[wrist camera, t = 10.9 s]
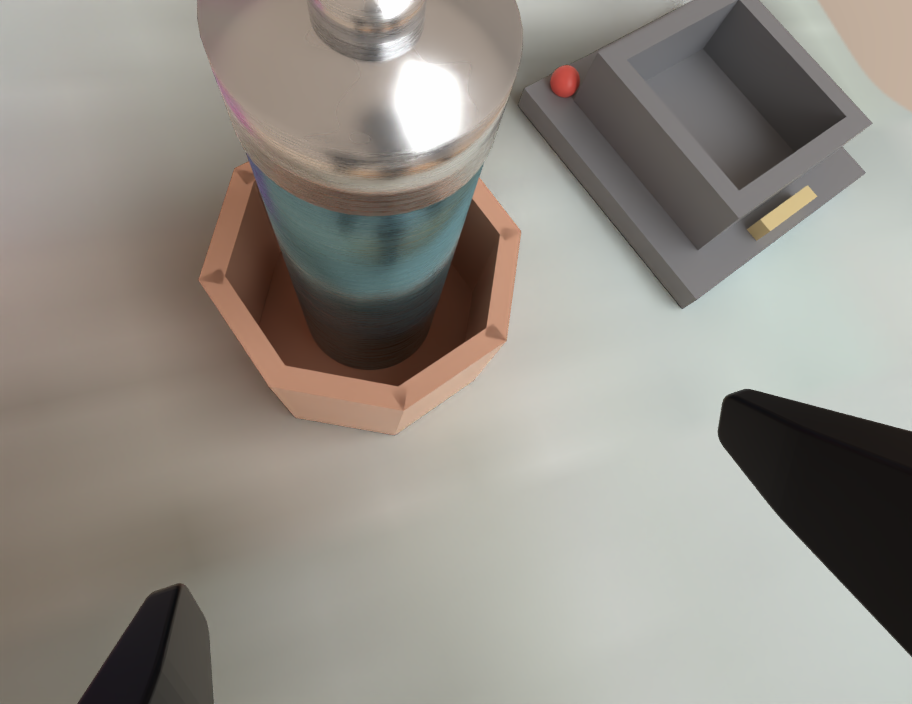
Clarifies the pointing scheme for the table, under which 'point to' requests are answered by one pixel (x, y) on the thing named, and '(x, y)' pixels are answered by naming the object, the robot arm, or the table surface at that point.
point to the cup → (325, 380)
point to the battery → (365, 147)
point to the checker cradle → (701, 137)
